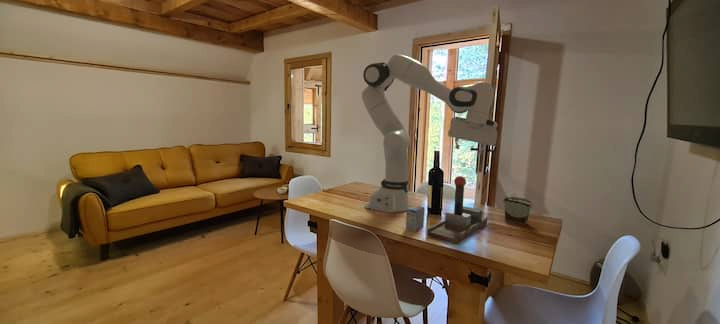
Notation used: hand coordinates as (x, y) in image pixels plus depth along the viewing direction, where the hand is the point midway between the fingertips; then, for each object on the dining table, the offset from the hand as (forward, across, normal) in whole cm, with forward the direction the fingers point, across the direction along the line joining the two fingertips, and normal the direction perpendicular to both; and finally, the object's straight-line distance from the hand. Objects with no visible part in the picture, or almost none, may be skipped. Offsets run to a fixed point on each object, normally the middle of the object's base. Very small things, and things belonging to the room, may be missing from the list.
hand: (467, 151), depth 136 cm
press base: (+32, +5, -10) cm, 34 cm away
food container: (+25, +28, +13) cm, 39 cm away
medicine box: (+36, -11, -16) cm, 41 cm away
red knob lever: (+31, +4, -12) cm, 33 cm away
